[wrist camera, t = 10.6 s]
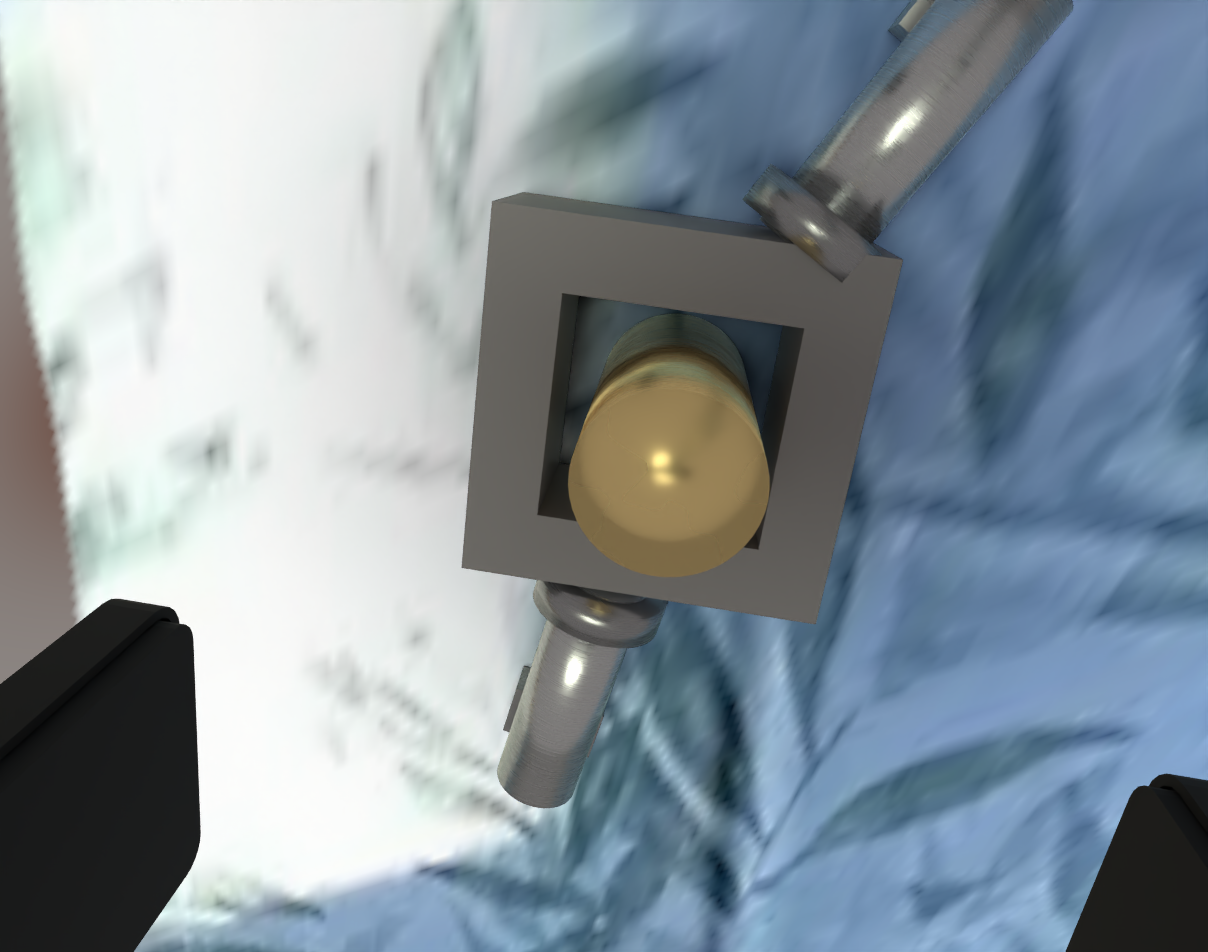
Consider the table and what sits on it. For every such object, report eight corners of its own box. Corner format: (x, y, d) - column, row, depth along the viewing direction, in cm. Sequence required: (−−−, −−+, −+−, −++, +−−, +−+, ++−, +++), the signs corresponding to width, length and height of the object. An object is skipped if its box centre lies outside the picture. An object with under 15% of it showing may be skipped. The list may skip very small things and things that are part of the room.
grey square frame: (870, 241, 24) (903, 259, 20) (798, 558, 27) (815, 624, 23) (523, 192, 24) (492, 201, 21) (493, 509, 28) (461, 567, 24)
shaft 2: (839, 283, 24) (868, 311, 20) (735, 196, 24) (743, 207, 20) (1046, 44, 22) (1124, 23, 18) (935, -57, 22) (990, -103, 18)
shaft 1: (557, 520, 27) (534, 585, 23) (672, 557, 28) (667, 628, 24) (495, 712, 30) (465, 800, 26) (600, 745, 30) (586, 839, 26)
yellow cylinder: (757, 324, 25) (787, 405, 17) (732, 461, 26) (750, 590, 19) (612, 304, 25) (580, 375, 18) (594, 441, 27) (557, 561, 19)
